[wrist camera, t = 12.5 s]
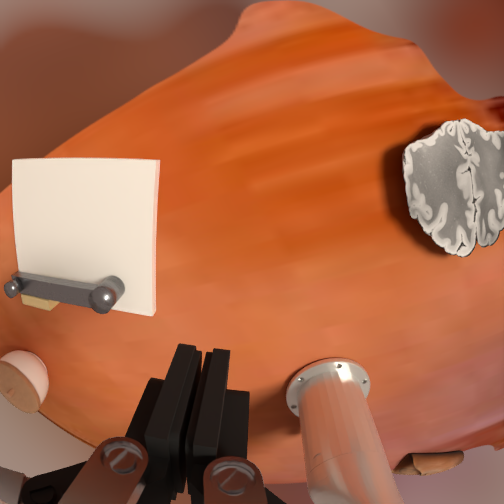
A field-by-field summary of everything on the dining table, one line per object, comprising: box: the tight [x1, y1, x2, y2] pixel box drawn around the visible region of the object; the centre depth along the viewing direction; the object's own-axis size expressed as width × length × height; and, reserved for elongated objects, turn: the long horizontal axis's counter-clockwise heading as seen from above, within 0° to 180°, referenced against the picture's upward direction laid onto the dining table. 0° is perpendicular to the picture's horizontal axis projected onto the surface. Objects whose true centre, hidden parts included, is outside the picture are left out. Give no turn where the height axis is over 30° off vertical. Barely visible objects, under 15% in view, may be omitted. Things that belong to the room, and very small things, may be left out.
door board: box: [12, 158, 160, 316], centre depth 34 cm, size 19×22×6 cm
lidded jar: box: [0, 350, 49, 413], centre depth 40 cm, size 11×11×9 cm
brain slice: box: [402, 119, 504, 257], centre depth 33 cm, size 20×17×3 cm
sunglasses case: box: [391, 451, 464, 476], centre depth 50 cm, size 18×7×7 cm
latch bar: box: [4, 271, 125, 314], centre depth 34 cm, size 16×3×6 cm, turn 85°
